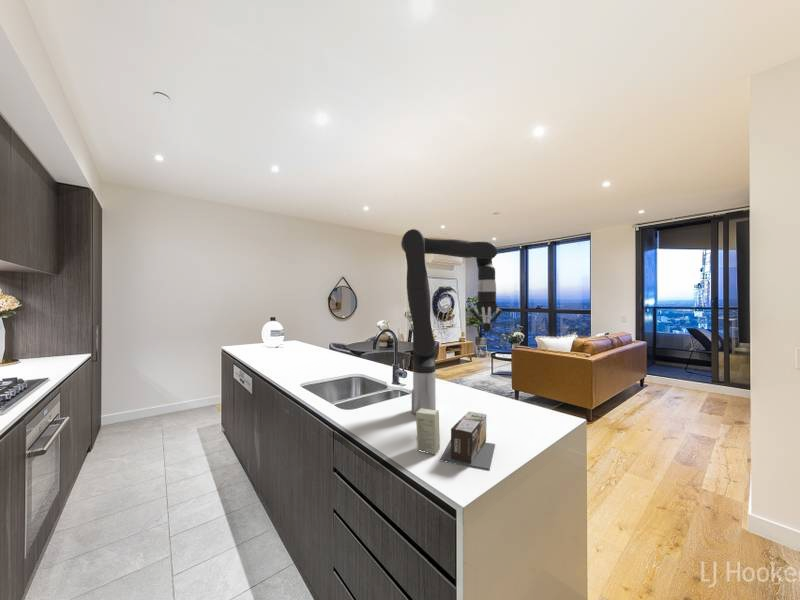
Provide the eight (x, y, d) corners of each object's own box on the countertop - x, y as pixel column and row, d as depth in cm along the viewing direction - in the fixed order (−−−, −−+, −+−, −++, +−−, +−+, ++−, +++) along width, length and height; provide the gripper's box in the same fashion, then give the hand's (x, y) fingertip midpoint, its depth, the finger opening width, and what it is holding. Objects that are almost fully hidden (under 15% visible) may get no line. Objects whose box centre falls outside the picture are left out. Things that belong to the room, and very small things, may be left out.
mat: (439, 460, 92) (439, 459, 92) (451, 438, 107) (451, 437, 107) (489, 470, 87) (489, 468, 87) (495, 445, 102) (495, 443, 102)
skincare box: (440, 449, 99) (440, 410, 99) (435, 455, 95) (435, 414, 95) (421, 445, 102) (420, 407, 102) (415, 451, 98) (415, 411, 98)
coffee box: (467, 410, 106) (450, 427, 92) (486, 414, 103) (471, 431, 89) (467, 438, 106) (450, 458, 92) (487, 442, 103) (472, 464, 89)
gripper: (469, 291, 133) (469, 332, 133) (502, 290, 128) (502, 333, 128) (472, 291, 140) (472, 330, 140) (503, 290, 135) (504, 331, 135)
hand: (487, 332), depth 134 cm, fingers closed
